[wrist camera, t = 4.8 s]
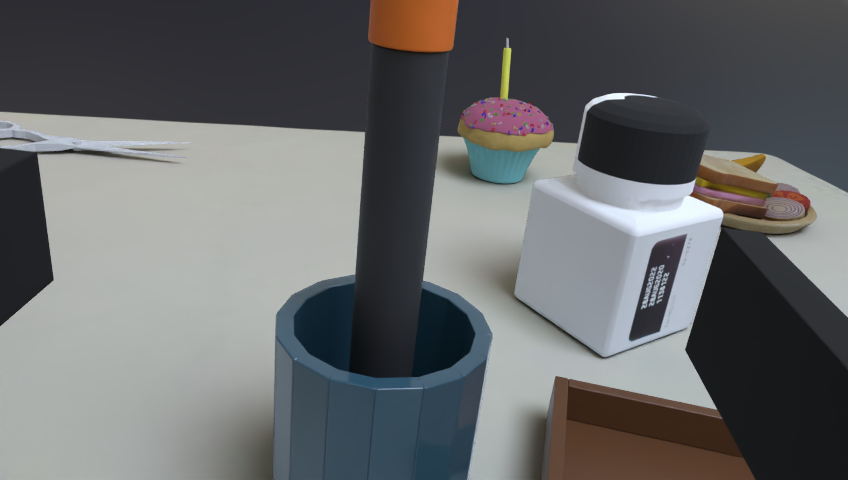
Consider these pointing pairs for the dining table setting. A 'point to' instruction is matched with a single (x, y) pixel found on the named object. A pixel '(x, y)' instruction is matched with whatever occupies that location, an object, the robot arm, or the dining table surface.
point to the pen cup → (376, 392)
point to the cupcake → (503, 133)
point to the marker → (398, 178)
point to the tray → (634, 437)
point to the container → (622, 227)
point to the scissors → (68, 142)
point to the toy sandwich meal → (751, 196)
